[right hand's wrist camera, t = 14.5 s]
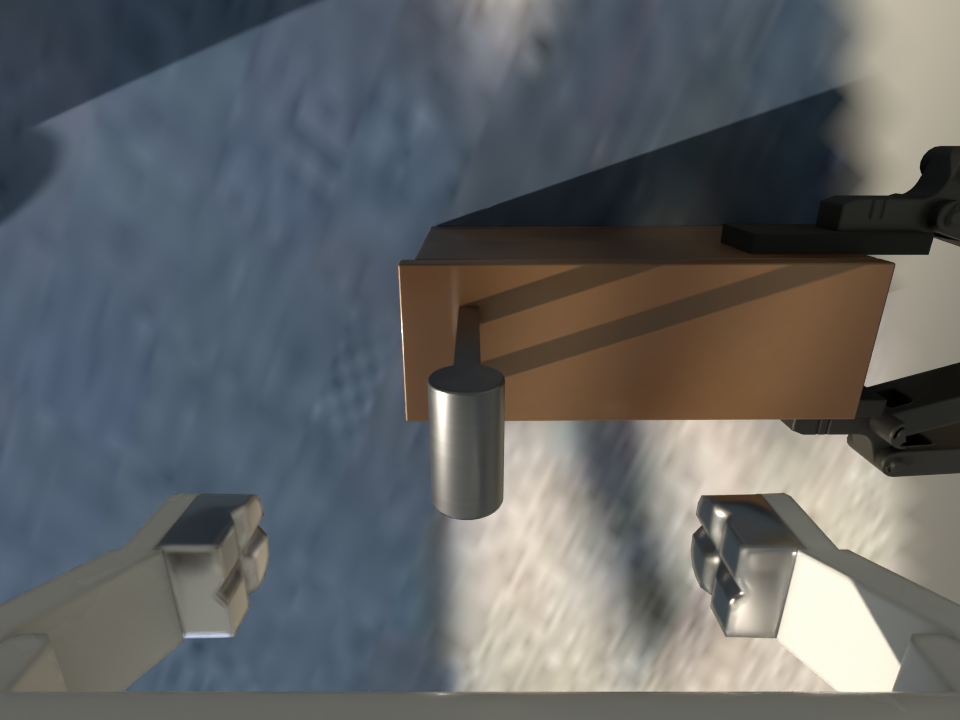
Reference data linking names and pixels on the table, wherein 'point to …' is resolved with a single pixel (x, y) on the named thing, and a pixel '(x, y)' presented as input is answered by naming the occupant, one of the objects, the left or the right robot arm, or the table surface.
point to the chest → (590, 244)
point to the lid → (624, 349)
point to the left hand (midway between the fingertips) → (724, 321)
